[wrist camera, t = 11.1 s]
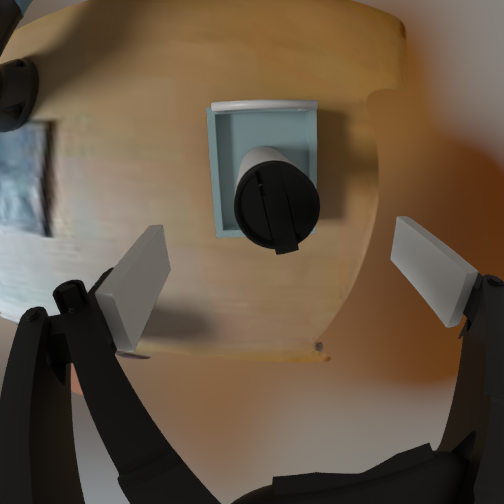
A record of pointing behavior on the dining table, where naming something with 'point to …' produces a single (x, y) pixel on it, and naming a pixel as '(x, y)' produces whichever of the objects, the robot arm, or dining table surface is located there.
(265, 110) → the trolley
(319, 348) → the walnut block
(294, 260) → the dining table surface
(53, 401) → the robot arm
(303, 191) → the travel mug
